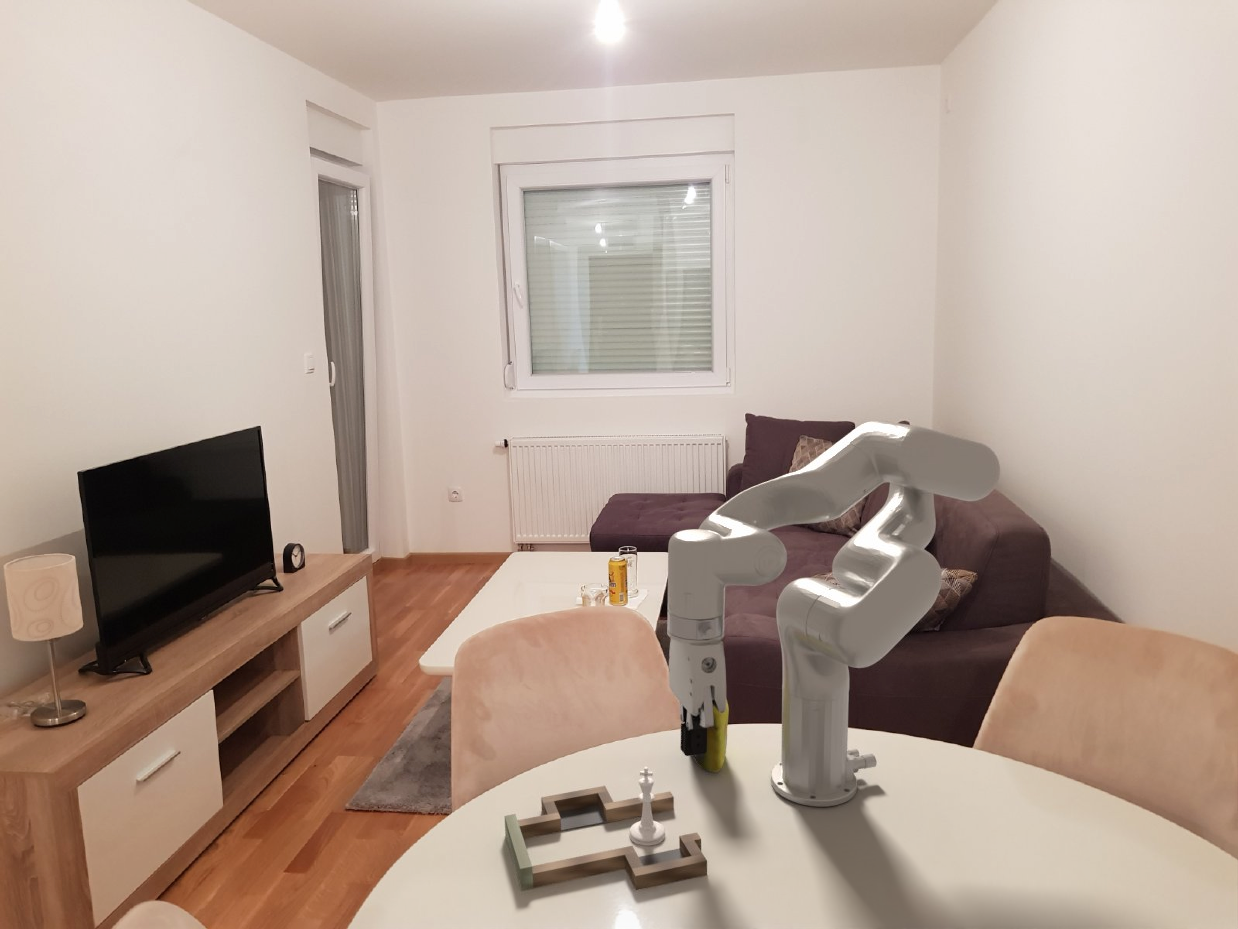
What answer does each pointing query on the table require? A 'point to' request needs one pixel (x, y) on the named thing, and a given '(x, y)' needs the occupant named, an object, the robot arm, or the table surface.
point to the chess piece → (646, 816)
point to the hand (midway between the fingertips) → (693, 751)
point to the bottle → (715, 742)
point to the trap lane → (597, 810)
